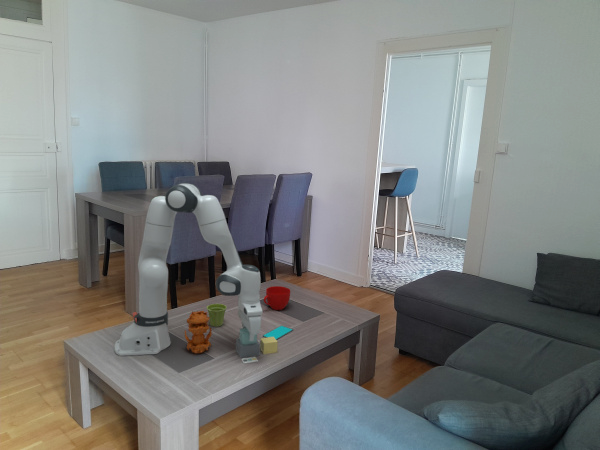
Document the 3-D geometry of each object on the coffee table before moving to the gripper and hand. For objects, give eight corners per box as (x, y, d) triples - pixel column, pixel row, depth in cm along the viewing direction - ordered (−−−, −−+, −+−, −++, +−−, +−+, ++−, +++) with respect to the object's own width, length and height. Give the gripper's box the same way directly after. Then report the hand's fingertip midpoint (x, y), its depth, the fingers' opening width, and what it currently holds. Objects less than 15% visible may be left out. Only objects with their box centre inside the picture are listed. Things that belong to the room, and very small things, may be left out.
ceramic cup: (255, 309, 233) (255, 291, 231) (277, 301, 245) (277, 284, 244) (272, 316, 224) (273, 297, 223) (294, 308, 237) (295, 290, 235)
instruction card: (243, 363, 176) (243, 363, 176) (241, 358, 180) (241, 358, 179) (258, 361, 178) (258, 360, 178) (255, 356, 182) (255, 356, 182)
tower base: (240, 358, 180) (241, 347, 179) (235, 349, 187) (236, 338, 186) (259, 355, 183) (259, 344, 182) (253, 347, 190) (254, 336, 189)
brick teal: (242, 345, 181) (242, 333, 180) (239, 339, 185) (239, 328, 184) (256, 343, 183) (257, 331, 182) (253, 338, 188) (253, 327, 187)
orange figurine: (187, 358, 178) (187, 316, 174) (182, 346, 187) (182, 306, 184) (214, 354, 182) (215, 313, 179) (208, 342, 192) (209, 303, 189)
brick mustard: (263, 354, 184) (264, 343, 183) (259, 349, 189) (260, 338, 188) (277, 352, 187) (277, 341, 186) (273, 347, 191) (273, 336, 190)
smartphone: (293, 329, 209) (274, 340, 197) (293, 331, 210) (274, 341, 197) (281, 325, 213) (262, 335, 201) (281, 326, 214) (261, 337, 201)
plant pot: (208, 329, 205) (209, 311, 204) (204, 321, 214) (204, 304, 212) (228, 326, 209) (228, 309, 208) (223, 319, 218) (223, 302, 216)
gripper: (235, 296, 189) (234, 326, 192) (248, 314, 171) (247, 347, 173) (249, 295, 192) (248, 324, 194) (264, 312, 173) (262, 345, 176)
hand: (247, 335), depth 184 cm, fingers open, 8 cm apart
